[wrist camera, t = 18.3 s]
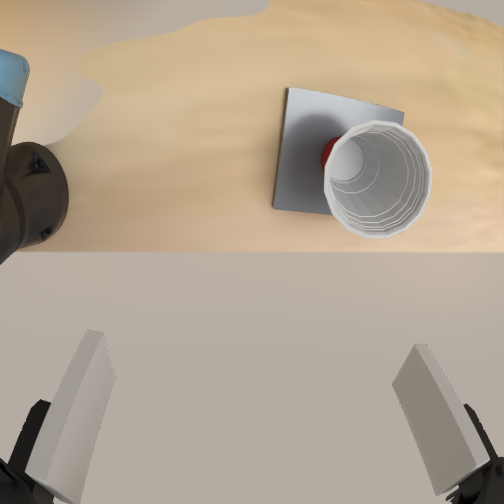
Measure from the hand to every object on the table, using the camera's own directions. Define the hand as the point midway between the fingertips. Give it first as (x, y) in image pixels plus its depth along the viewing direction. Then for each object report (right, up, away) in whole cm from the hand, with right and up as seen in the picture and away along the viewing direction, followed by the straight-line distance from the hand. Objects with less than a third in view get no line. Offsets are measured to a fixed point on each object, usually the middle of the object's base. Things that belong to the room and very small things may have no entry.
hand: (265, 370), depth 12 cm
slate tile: (+10, +17, +24) cm, 31 cm away
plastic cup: (+10, +16, +23) cm, 30 cm away
